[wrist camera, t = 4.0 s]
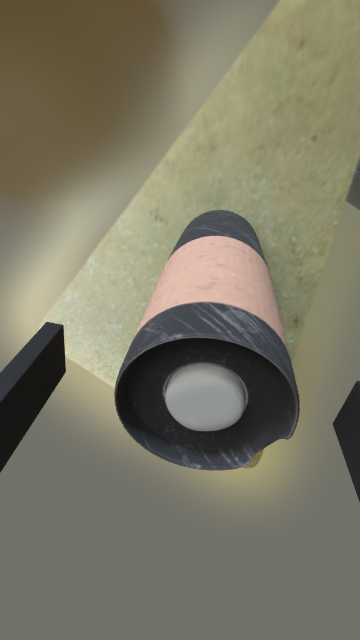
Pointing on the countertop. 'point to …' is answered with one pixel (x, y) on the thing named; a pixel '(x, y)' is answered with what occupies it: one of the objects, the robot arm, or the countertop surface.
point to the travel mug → (210, 354)
